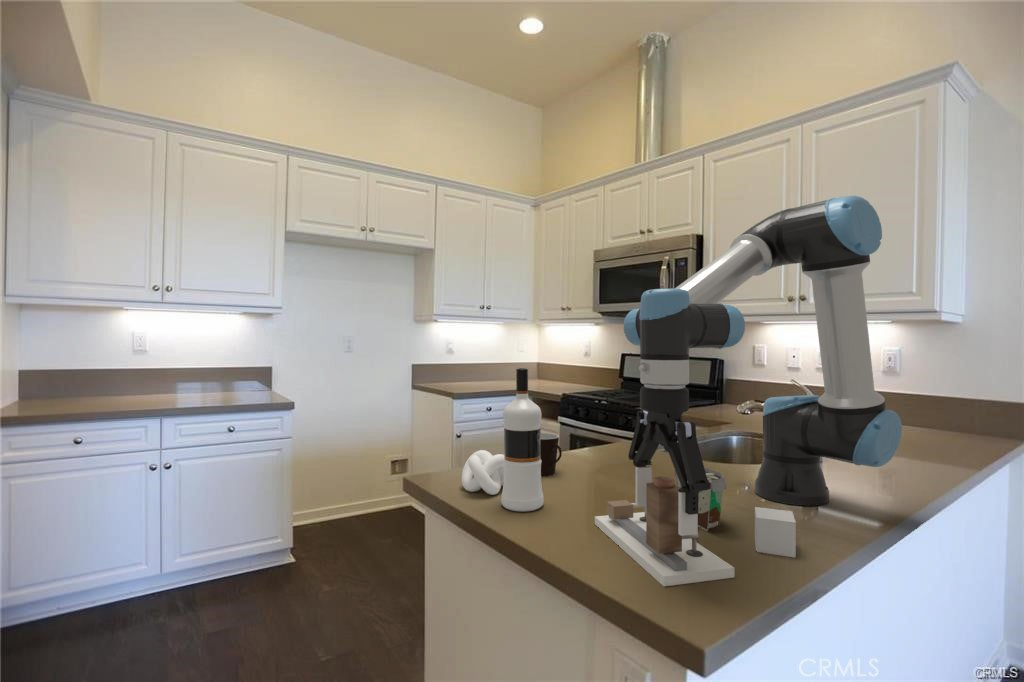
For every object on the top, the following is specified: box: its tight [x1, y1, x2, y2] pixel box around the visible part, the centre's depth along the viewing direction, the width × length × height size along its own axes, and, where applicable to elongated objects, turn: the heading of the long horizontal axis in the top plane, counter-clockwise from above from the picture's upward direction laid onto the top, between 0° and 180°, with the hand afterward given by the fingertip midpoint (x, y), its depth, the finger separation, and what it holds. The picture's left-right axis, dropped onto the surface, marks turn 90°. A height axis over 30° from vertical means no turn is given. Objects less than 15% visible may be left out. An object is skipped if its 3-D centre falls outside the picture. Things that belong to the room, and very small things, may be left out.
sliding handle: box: [646, 476, 699, 554], centre depth 83 cm, size 8×4×12 cm, turn 104°
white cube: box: [754, 506, 797, 558], centre depth 90 cm, size 6×6×6 cm
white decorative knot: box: [461, 449, 504, 496], centre depth 124 cm, size 11×12×9 cm
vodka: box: [500, 367, 545, 513], centre depth 112 cm, size 9×9×30 cm
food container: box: [673, 467, 727, 533], centre depth 103 cm, size 12×6×10 cm, turn 16°
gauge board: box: [594, 499, 735, 587], centre depth 90 cm, size 12×26×5 cm, turn 14°
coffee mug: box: [541, 432, 563, 477], centre depth 138 cm, size 12×9×10 cm
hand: (663, 518), depth 83 cm, fingers open, 13 cm apart
